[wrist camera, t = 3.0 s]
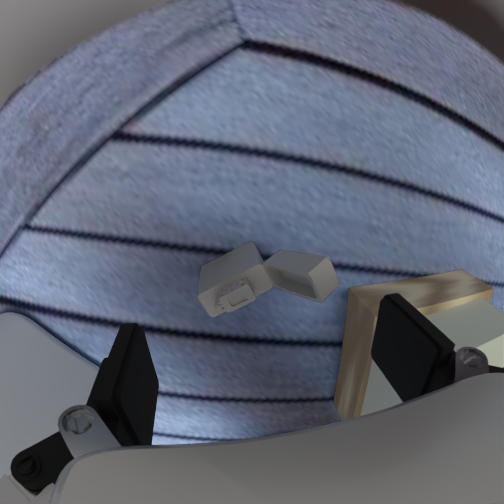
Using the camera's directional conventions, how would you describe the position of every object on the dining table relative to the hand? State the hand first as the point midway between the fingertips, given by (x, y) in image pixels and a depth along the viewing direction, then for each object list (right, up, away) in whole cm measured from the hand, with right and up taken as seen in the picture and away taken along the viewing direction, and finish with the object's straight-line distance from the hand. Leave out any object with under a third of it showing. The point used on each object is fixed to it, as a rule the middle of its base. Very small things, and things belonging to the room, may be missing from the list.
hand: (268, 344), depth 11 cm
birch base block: (+14, -5, +15) cm, 21 cm away
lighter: (-1, +3, +10) cm, 11 cm away
